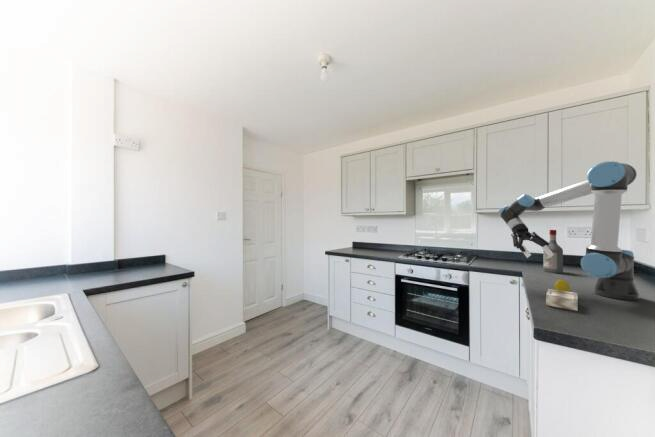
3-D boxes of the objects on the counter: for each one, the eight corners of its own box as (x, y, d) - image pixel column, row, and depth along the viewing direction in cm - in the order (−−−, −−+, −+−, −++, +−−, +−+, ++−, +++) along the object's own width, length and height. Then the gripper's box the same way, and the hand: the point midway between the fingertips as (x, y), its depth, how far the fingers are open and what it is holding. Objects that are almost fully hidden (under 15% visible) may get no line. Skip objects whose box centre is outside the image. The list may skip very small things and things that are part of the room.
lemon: (554, 293, 131) (554, 277, 131) (569, 295, 128) (569, 279, 128) (554, 295, 127) (554, 279, 127) (570, 297, 123) (570, 281, 123)
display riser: (577, 303, 115) (577, 293, 115) (577, 310, 106) (577, 299, 106) (548, 298, 122) (548, 288, 122) (546, 305, 113) (546, 294, 113)
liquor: (554, 273, 177) (554, 230, 177) (541, 270, 186) (541, 229, 186) (565, 272, 179) (565, 230, 179) (551, 270, 188) (551, 229, 188)
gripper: (532, 231, 157) (556, 259, 143) (495, 231, 155) (515, 260, 140) (540, 222, 152) (566, 251, 137) (502, 222, 149) (523, 252, 135)
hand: (540, 256), depth 139 cm, fingers open, 13 cm apart
